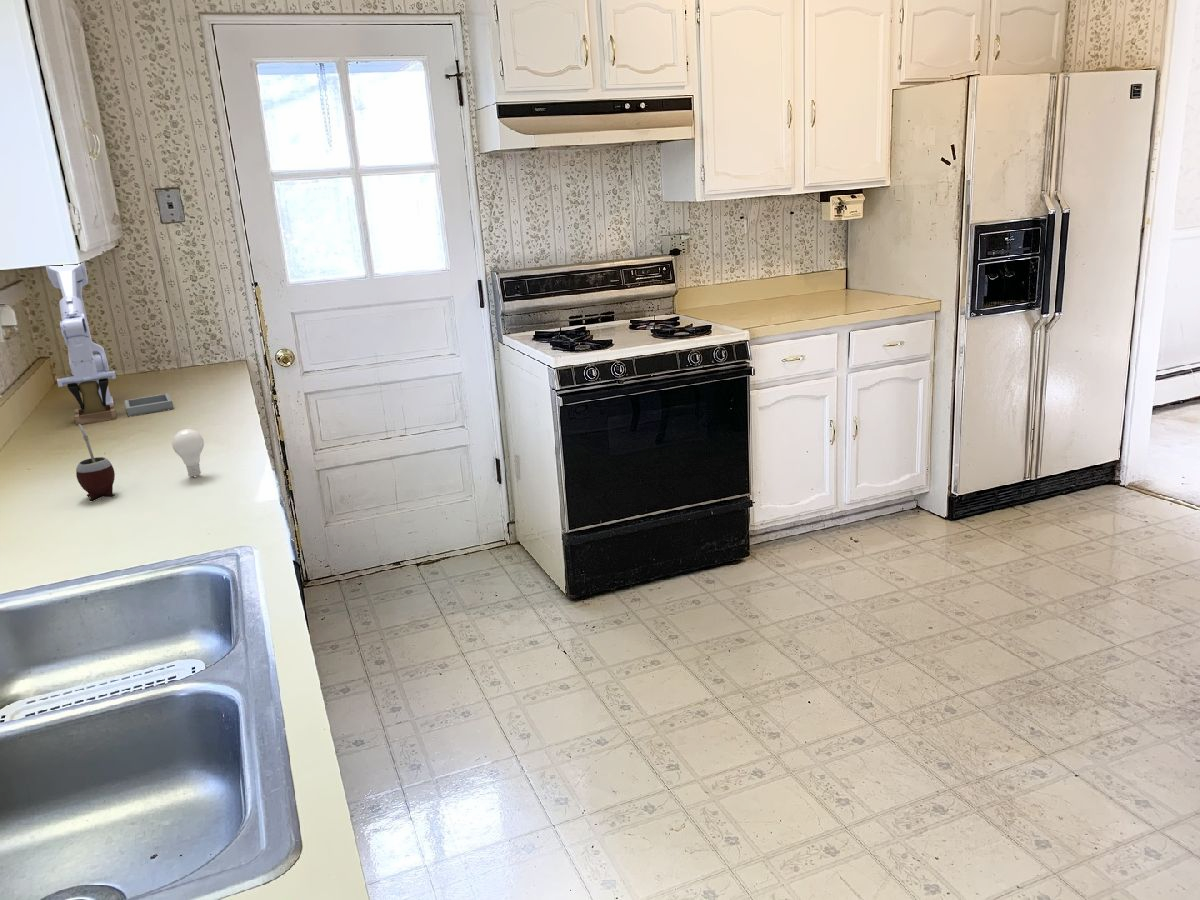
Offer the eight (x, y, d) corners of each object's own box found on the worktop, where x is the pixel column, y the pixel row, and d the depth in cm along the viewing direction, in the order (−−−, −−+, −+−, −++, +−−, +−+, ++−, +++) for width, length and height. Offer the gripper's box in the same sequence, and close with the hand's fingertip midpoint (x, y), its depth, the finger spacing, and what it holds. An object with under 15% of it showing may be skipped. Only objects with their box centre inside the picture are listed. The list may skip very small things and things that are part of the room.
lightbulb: (215, 475, 203) (205, 428, 199) (187, 483, 198) (177, 435, 195) (202, 470, 207) (192, 423, 203) (174, 478, 202) (164, 431, 199)
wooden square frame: (76, 418, 262) (74, 409, 261) (115, 411, 266) (113, 403, 265) (76, 425, 253) (74, 416, 253) (116, 418, 258) (114, 410, 257)
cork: (112, 415, 262) (104, 378, 259) (99, 421, 257) (90, 383, 253) (93, 415, 263) (84, 378, 260) (80, 421, 257) (70, 384, 254)
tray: (126, 408, 269) (124, 400, 268) (170, 401, 275) (168, 393, 274) (128, 416, 259) (126, 408, 258) (173, 409, 265) (171, 401, 264)
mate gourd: (104, 502, 190) (87, 433, 185) (71, 502, 191) (53, 434, 187) (127, 489, 197) (112, 423, 192) (95, 489, 198) (79, 423, 193)
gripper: (52, 366, 248) (64, 414, 252) (111, 358, 254) (122, 405, 259) (53, 362, 254) (64, 409, 258) (110, 354, 260) (121, 400, 265)
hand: (93, 406), depth 259 cm, fingers closed on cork, 5 cm apart
